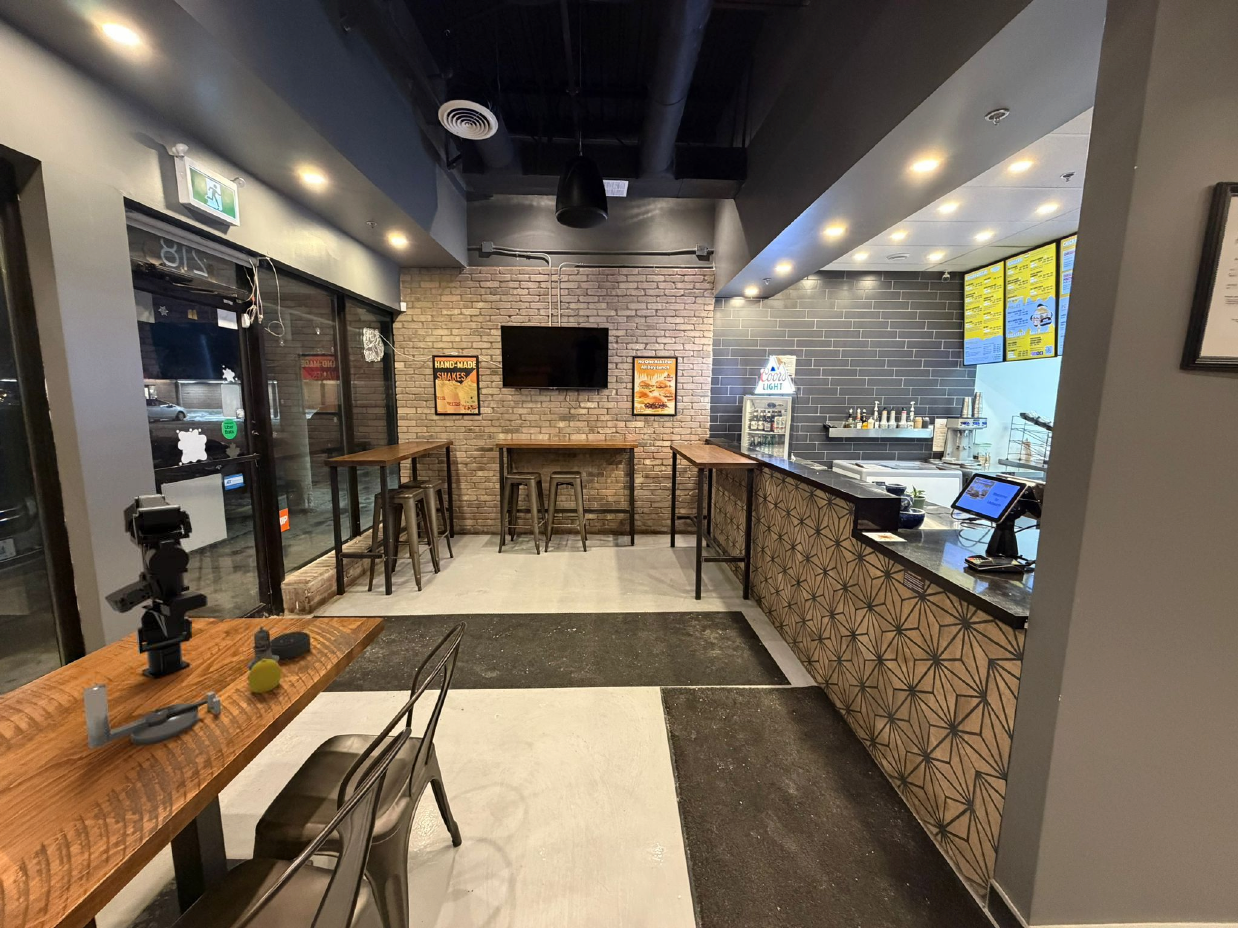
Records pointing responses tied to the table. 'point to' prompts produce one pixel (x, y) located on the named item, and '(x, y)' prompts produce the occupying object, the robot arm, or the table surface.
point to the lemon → (264, 676)
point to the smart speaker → (290, 645)
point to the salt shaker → (262, 647)
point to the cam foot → (142, 731)
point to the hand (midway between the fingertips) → (170, 635)
